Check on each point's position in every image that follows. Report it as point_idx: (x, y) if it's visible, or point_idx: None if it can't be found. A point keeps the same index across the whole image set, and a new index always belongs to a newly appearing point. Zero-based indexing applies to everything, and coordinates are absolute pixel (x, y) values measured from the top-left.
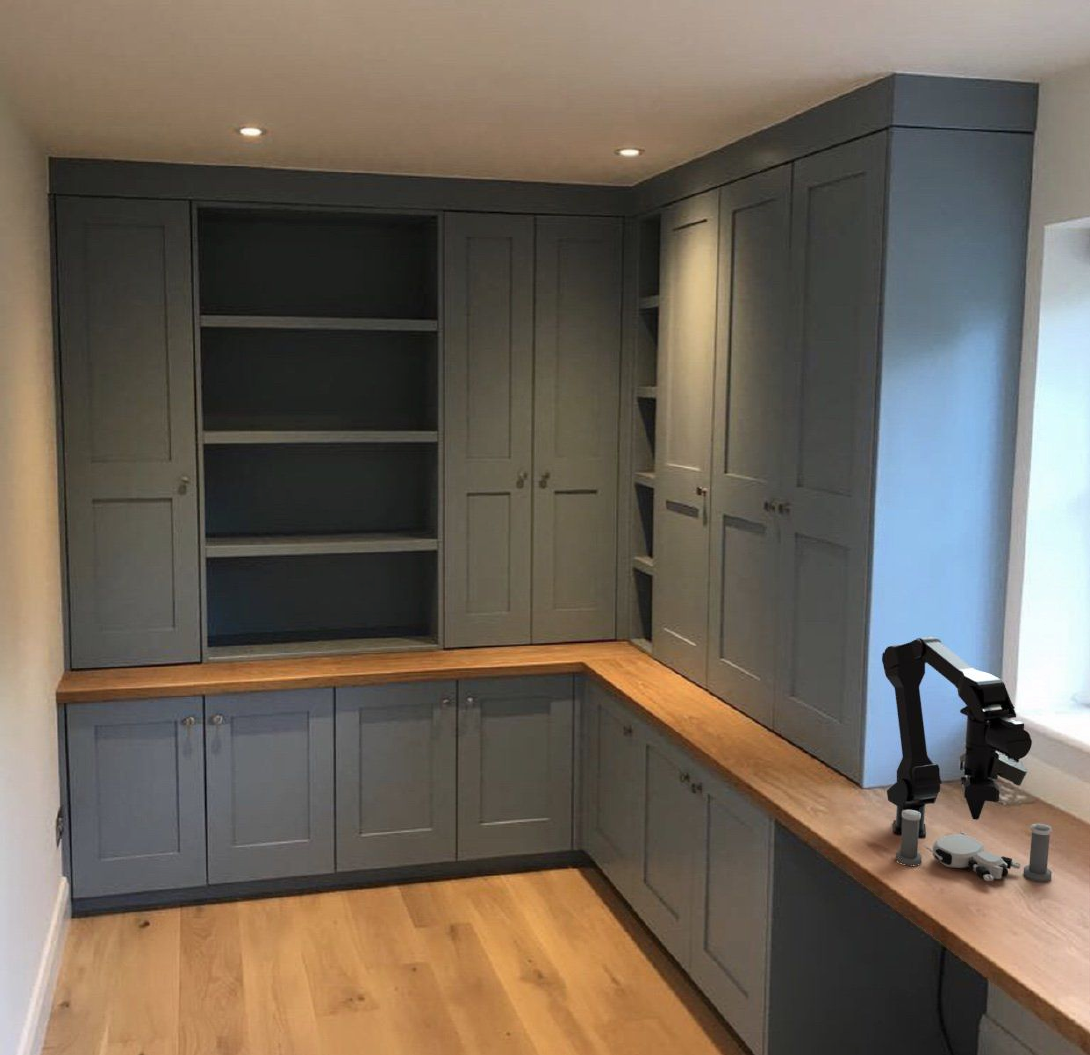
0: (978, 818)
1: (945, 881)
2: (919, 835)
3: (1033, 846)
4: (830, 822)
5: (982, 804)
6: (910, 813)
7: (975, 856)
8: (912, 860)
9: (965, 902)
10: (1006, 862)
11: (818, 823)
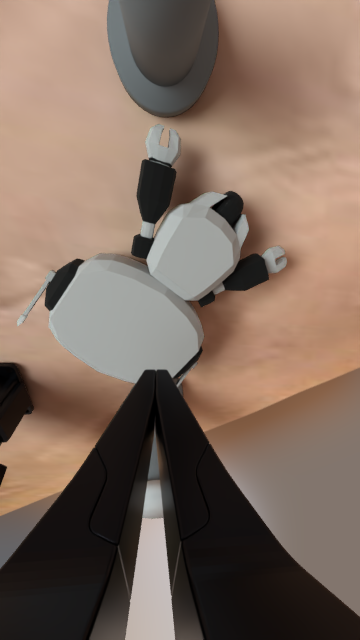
0: (169, 373)
1: (240, 337)
2: (18, 375)
3: (198, 7)
4: (40, 473)
5: (218, 462)
6: (159, 508)
7: (197, 297)
8: (182, 394)
9: (338, 308)
10: (172, 187)
11: (54, 482)
